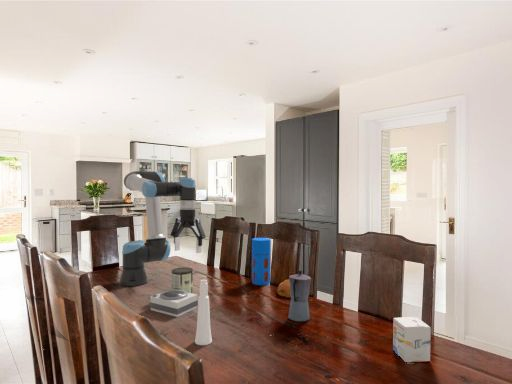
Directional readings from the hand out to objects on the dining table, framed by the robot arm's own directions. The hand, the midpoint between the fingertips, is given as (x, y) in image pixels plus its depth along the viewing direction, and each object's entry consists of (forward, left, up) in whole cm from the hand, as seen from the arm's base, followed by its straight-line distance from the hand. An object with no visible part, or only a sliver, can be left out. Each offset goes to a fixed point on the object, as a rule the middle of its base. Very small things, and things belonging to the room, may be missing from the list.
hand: (187, 251), depth 171 cm
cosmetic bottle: (+38, -35, -23) cm, 57 cm away
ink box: (+103, -9, -23) cm, 106 cm away
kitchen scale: (+6, -16, -23) cm, 28 cm away
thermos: (+19, +41, -23) cm, 51 cm away
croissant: (+42, +31, -23) cm, 57 cm away
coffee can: (-1, -3, -23) cm, 23 cm away
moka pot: (+59, +2, -23) cm, 63 cm away
